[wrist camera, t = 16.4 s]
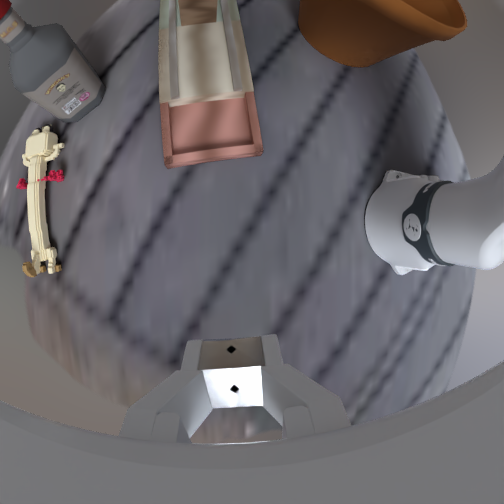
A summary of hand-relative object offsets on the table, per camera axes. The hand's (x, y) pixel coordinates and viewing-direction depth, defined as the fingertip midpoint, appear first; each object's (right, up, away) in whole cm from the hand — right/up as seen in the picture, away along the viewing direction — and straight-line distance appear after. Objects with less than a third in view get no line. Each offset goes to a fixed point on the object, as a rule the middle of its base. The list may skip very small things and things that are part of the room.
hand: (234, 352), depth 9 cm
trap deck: (-9, +41, +27) cm, 50 cm away
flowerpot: (+19, +48, +30) cm, 59 cm away
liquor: (-29, +30, +25) cm, 49 cm away
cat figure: (-34, +13, +26) cm, 45 cm away
